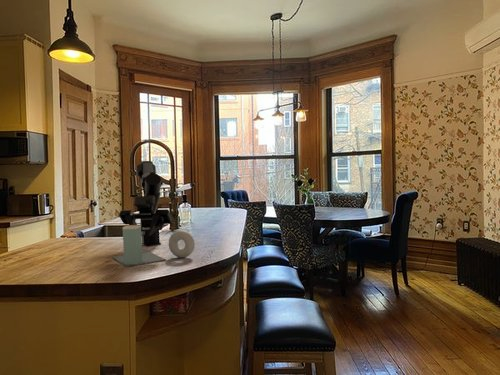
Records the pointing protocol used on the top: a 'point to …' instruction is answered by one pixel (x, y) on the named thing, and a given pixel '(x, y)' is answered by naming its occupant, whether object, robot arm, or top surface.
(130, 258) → the block
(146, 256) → the mat
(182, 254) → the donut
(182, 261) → the top surface
